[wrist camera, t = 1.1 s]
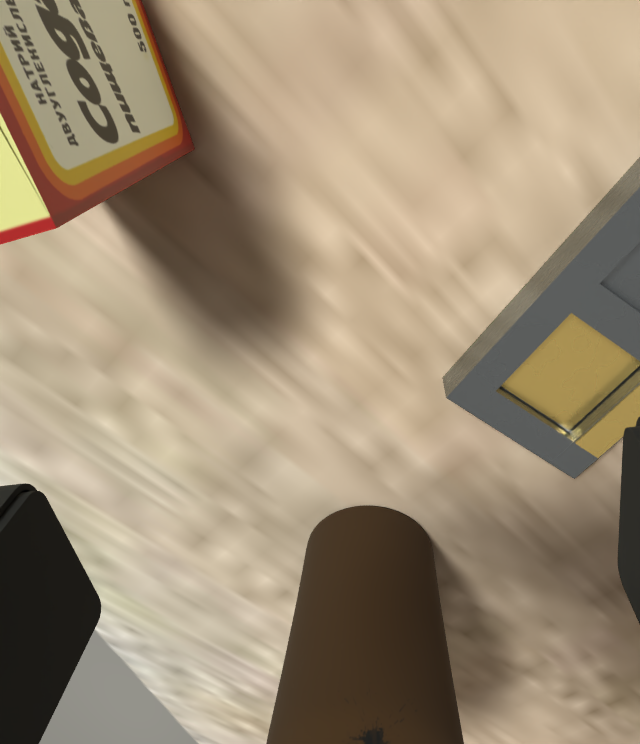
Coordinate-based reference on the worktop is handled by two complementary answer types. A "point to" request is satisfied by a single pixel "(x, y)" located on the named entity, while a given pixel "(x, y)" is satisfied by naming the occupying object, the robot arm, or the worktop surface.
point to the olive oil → (367, 639)
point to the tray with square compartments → (566, 344)
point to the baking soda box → (79, 109)
